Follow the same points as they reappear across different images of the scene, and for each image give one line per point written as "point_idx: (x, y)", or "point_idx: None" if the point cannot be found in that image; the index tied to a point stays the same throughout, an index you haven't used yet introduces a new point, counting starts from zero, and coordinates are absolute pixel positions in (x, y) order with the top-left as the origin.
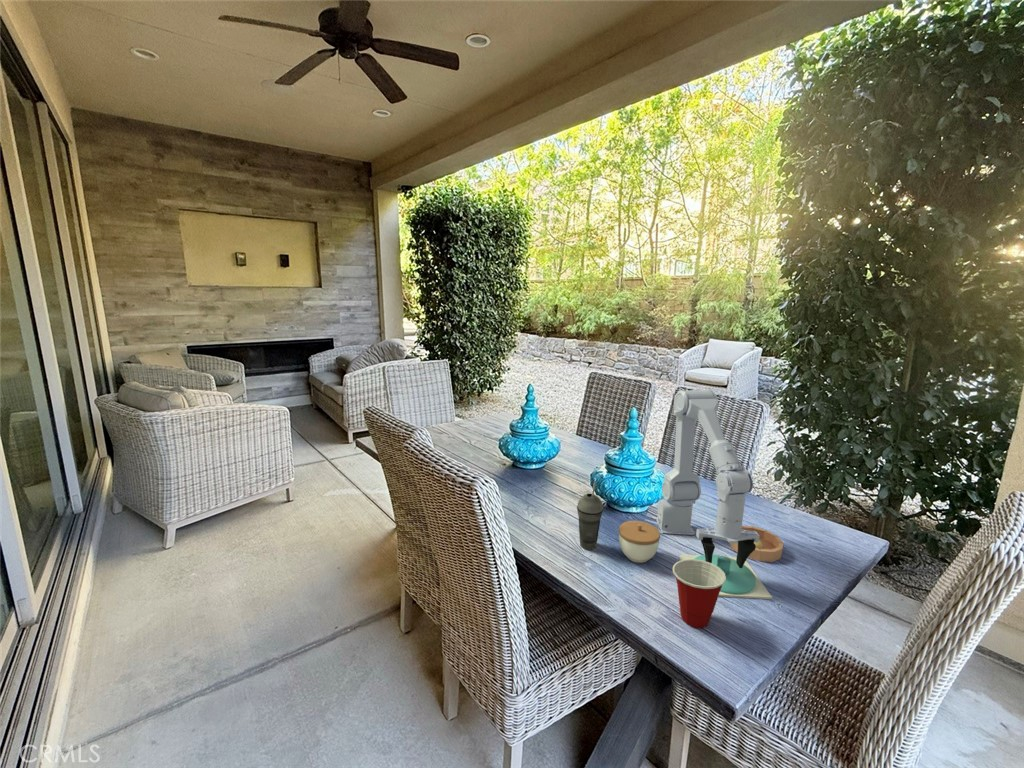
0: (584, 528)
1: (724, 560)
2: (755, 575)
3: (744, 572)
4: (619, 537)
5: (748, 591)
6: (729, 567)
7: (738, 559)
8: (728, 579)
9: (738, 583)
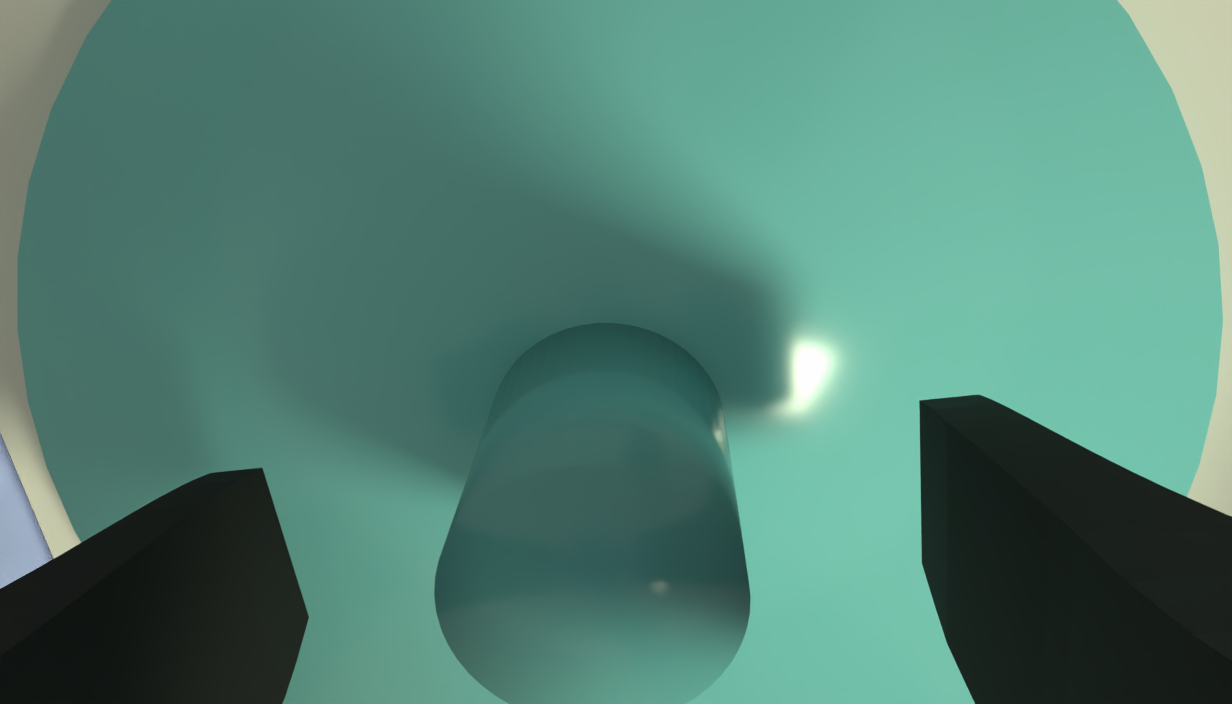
0: None
1: (593, 564)
2: (39, 481)
3: None
4: None
5: None
6: (484, 445)
7: (234, 658)
8: (546, 201)
9: (364, 100)
